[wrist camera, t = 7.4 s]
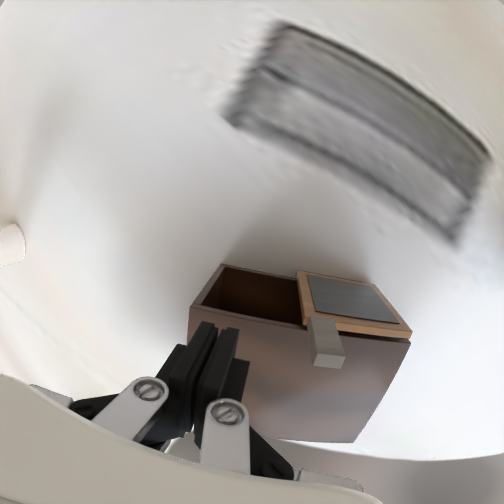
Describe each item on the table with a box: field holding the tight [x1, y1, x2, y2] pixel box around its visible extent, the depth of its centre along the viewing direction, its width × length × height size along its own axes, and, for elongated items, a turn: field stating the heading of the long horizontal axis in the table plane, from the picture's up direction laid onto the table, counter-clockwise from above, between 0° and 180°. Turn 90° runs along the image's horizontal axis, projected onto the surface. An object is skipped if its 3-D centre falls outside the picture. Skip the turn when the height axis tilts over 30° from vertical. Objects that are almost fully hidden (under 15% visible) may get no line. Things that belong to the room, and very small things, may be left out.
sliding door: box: [296, 270, 412, 369], centre depth 19 cm, size 1×8×14 cm, turn 80°
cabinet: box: [187, 264, 411, 443], centre depth 24 cm, size 12×16×10 cm
